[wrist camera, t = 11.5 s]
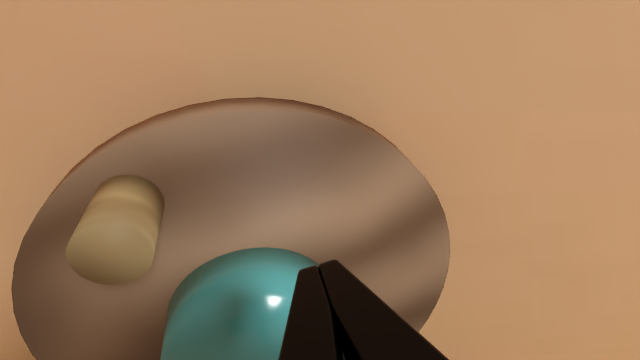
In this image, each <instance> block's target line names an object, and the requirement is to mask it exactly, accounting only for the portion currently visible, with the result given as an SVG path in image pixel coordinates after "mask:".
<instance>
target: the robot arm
mask: <svg viewBox="0 0 640 360" xmlns="http://www.w3.org/2000/svg"><path fill="white" fill-rule="evenodd" d="M343 356H344V357H343ZM344 359H345V360H449V359H448V358H447V357H445V356H444V355H443V354H442V353H441V352H440V351H439V350H438V349H436V348H435V347H434V346H433V345H432V344H431V343H430V342H429V341H427V340H426V339H425V338H424V337H423V336H422V335H421V334H420V333H419V332H417V331H416V330H415V329H414V328H413V327H412V326H411V325H410V324H408V323H407V322H406V321H405V320H404V319H403V318H402V317H401V316H400V315H398V314H397V313H396V312H395V311H394V310H393V309H392V308H391V307H389V306H388V305H387V304H386V303H385V302H384V301H383V300H382V299H380V298H379V297H378V296H377V295H376V294H375V293H374V292H373V291H372V290H370V289H369V288H368V287H367V286H366V285H365V284H364V283H363V282H361V281H360V280H359V279H358V278H357V277H356V276H355V275H354V274H352V273H351V272H350V271H349V270H348V269H347V268H346V267H345V266H344V265H342V264H341V263H340V262H339V261H338V260H336V259H333V260H330V261H326V262H323V263H320V264H319V266H316V265H313V266H310V267H306V268H303V269H300V270H299V272H298V275H297V279H296V284H295V288H294V293H293V297H292V301H291V306H290V310H289V315H288V319H287V323H286V328H285V332H284V337H283V341H282V346H281V350H280V354H279V359H278V360H344Z"/></svg>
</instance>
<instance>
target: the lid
mask: <svg viewBox="0 0 640 360" xmlns="http://www.w3.org/2000/svg"><path fill="white" fill-rule="evenodd" d="M313 265H316V266H319V264H318V263H316V262H315V261H313V260H312V259H310V258H309V257H307V256H304V255H302V254H300V253H297V252H294V251H290V250H286V249H280V248H269V247H262V248H249V249H242V250H238V251H234V252H230V253H227V254H224V255H221V256H218V257H216V258H214V259H212V260H210V261H208V262H206V263H204V264H203V265H201V266H199V267H198V268H196V269H195V270H194V271H192V272H191V273H190V274H189V275H188V276H187V277H186V278H185V279H184V280H183V281H182V282H181V283H180V284H179V286H178V287H177V288H176V290H175V291H174V293H173V295H172V297H171V299H170V303H169V306H168V312H167V318H166V325H165V332H164V339H163V346H162V352H161V359H160V360H278V359H279V354H280V350H281V346H282V341H283V337H284V332H285V328H286V323H287V319H288V315H289V310H290V306H291V301H292V297H293V293H294V288H295V284H296V279H297V275H298V272H299V270H300V269H303V268H306V267H310V266H313ZM343 357H344V356H343ZM344 360H345V359H344Z"/></svg>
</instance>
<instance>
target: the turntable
mask: <svg viewBox="0 0 640 360" xmlns="http://www.w3.org/2000/svg"><path fill="white" fill-rule="evenodd" d="M262 247H269V248H280V249H286V250H290V251H294V252H297V253H300V254H302V255H304V256H307V257H309V258H310V259H312V260H313V261H315V262H316V263H318V264H320V263H323V262H326V261H330V260H333V259H336V260H338V261H339V262H340V263H341V264H342V265H344V266H345V267H346V268H347V269H348V270H349V271H350V272H351V273H352V274H354V275H355V276H356V277H357V278H358V279H359V280H360V281H361V282H363V283H364V284H365V285H366V286H367V287H368V288H369V289H370V290H372V291H373V292H374V293H375V294H376V295H377V296H378V297H379V298H380V299H382V300H383V301H384V302H385V303H386V304H387V305H388V306H389V307H391V308H392V309H393V310H394V311H395V312H396V313H397V314H398V315H400V316H401V317H402V318H403V319H404V320H405V321H406V322H407V323H408V324H410V325H411V326H412V327H413V328H414V329H415V330H416V331H417V332H419V331H420V329H421V328H422V326H423V325H424V324H425V322H426V321H427V319H428V318H429V316H430V314H431V313H432V311H433V309H434V307H435V306H436V304H437V301H438V299H439V297H440V294H441V292H442V289H443V287H444V283H445V279H446V276H447V272H448V266H449V257H450V240H449V230H448V226H447V221H446V217H445V213H444V211H443V209H442V206H441V204H440V202H439V199H438V197H437V195H436V193H435V192H434V190H433V189H432V187H431V186H430V184H429V183H428V181H427V180H426V178H425V177H424V176H423V175H422V173H421V172H420V171H419V170H418V169H417V168H416V167H415V166H414V165H413V164H412V163H411V162H410V161H409V160H408V158H407V157H406V156H405V155H404V154H403V153H402V152H401V151H400V150H399V149H398V148H397V147H396V146H395V145H394V144H393V143H391V142H390V141H389V140H387V139H386V138H385V137H383V136H382V135H381V134H380V133H378V132H377V131H376V130H374V129H372V128H370V127H369V126H367V125H365V124H363V123H361V122H359V121H357V120H356V119H354V118H352V117H350V116H347V115H344V114H342V113H339V112H336V111H333V110H331V109H328V108H325V107H322V106H317V105H313V104H308V103H303V102H299V101H294V100H285V99H273V98H261V97H258V98H234V99H222V100H216V101H210V102H204V103H198V104H192V105H188V106H185V107H182V108H178V109H175V110H172V111H168V112H165V113H162V114H158V115H156V116H153V117H151V118H149V119H147V120H145V121H142V122H140V123H138V124H136V125H134V126H131V127H129V128H127V129H125V130H123V131H122V132H120V133H118V134H117V135H115V136H114V137H112V138H111V139H109V140H107V141H106V142H104V143H103V144H101V145H99V146H98V147H96V148H95V149H94V150H93V151H92V152H91V153H89V154H88V155H87V156H86V157H85V158H84V159H82V160H81V161H80V162H79V163H78V164H77V165H75V166H74V167H73V168H72V169H71V170H70V172H69V173H68V174H67V175H66V176H65V178H64V179H63V180H62V181H61V182H60V183H59V185H58V186H57V187H56V188H55V189H54V191H53V192H52V193H51V195H50V196H49V198H48V199H47V200H46V202H45V203H44V205H43V206H42V208H41V209H40V210H39V212H38V213H37V215H36V217H35V219H34V220H33V222H32V224H31V225H30V227H29V229H28V231H27V232H26V234H25V236H24V238H23V240H22V243H21V246H20V249H19V252H18V255H17V258H16V261H15V264H14V272H13V280H12V299H13V309H14V314H15V317H16V321H17V324H18V327H19V330H20V333H21V335H22V337H23V339H24V341H25V342H26V344H27V346H28V348H29V350H30V351H31V353H32V355H33V356H34V357H35V358H36V359H37V360H160V359H161V352H162V346H163V339H164V332H165V325H166V318H167V312H168V306H169V303H170V299H171V297H172V295H173V293H174V291H175V290H176V288H177V287H178V286H179V284H180V283H181V282H182V281H183V280H184V279H185V278H186V277H187V276H188V275H189V274H190V273H191V272H192V271H194V270H195V269H196V268H198V267H199V266H201V265H203V264H204V263H206V262H208V261H210V260H212V259H214V258H216V257H218V256H221V255H224V254H227V253H230V252H234V251H238V250H242V249H249V248H262Z"/></svg>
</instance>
